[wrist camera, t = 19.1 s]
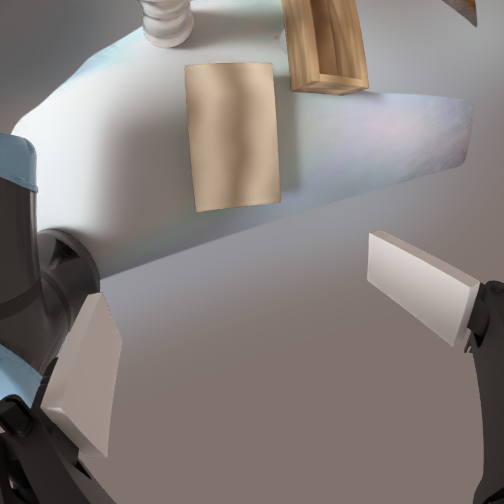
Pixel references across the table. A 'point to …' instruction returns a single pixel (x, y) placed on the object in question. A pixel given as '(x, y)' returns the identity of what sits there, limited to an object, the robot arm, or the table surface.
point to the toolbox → (324, 46)
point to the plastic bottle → (167, 21)
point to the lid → (232, 135)
